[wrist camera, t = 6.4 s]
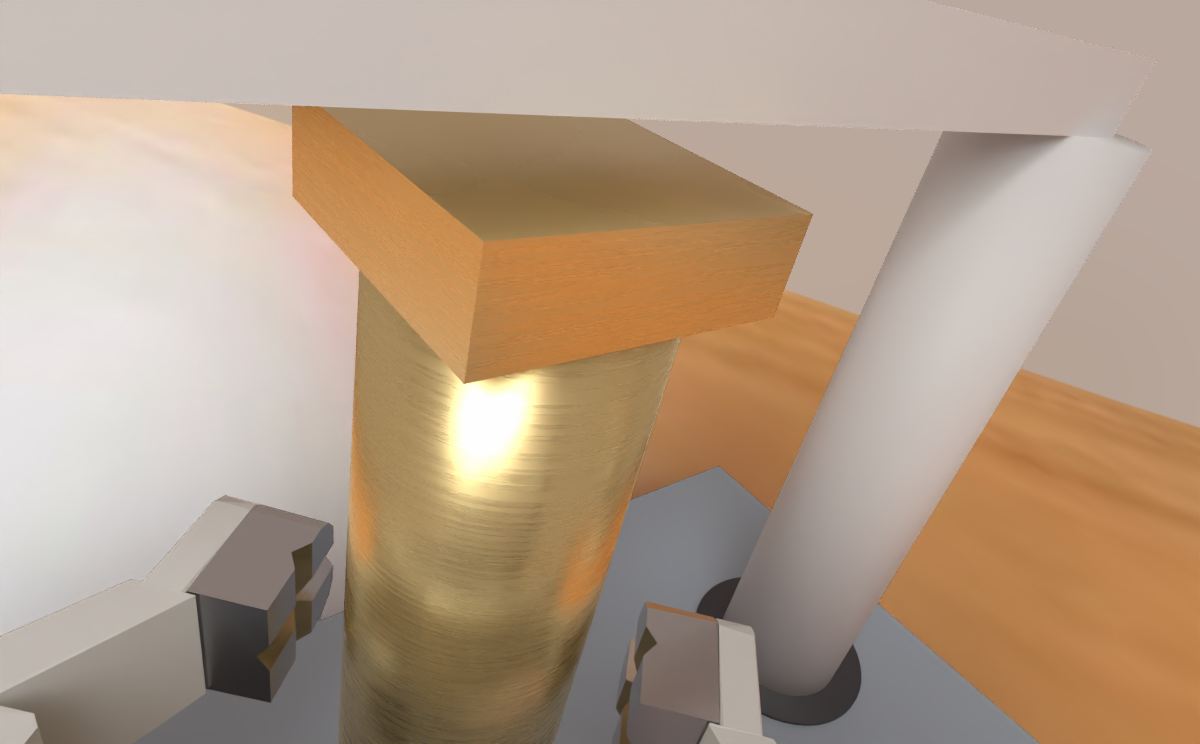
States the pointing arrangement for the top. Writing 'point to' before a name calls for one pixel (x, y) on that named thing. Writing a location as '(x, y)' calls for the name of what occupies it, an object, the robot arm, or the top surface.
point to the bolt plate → (870, 359)
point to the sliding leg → (509, 386)
